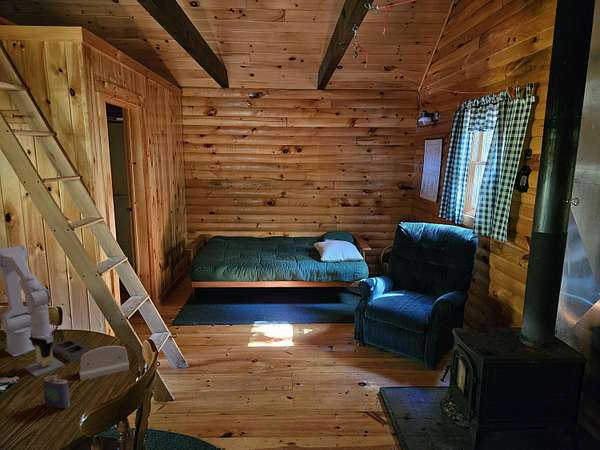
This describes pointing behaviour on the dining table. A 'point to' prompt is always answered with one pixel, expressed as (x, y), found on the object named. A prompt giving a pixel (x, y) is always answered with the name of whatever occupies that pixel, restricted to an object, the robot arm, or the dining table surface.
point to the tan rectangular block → (41, 360)
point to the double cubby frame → (69, 349)
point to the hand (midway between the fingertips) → (43, 355)
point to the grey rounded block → (103, 361)
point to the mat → (39, 370)
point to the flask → (56, 392)
